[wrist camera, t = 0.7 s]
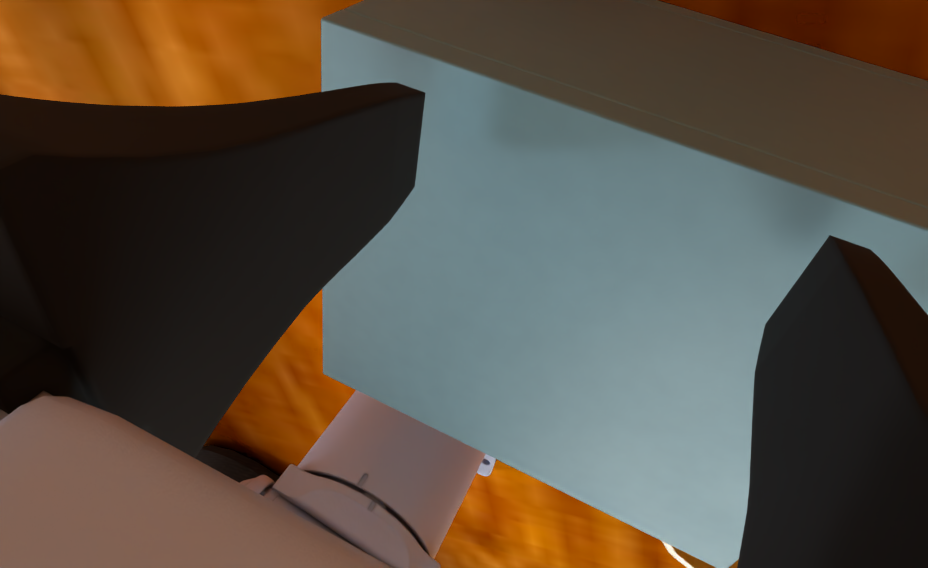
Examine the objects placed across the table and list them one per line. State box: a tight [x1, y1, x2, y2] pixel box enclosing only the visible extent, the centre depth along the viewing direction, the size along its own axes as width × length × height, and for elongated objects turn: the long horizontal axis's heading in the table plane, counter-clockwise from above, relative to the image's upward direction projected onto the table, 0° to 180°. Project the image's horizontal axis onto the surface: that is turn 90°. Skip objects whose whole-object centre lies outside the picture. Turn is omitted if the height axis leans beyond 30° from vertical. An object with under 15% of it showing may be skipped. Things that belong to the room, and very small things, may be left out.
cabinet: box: [321, 0, 928, 568], centre depth 17 cm, size 14×12×9 cm
